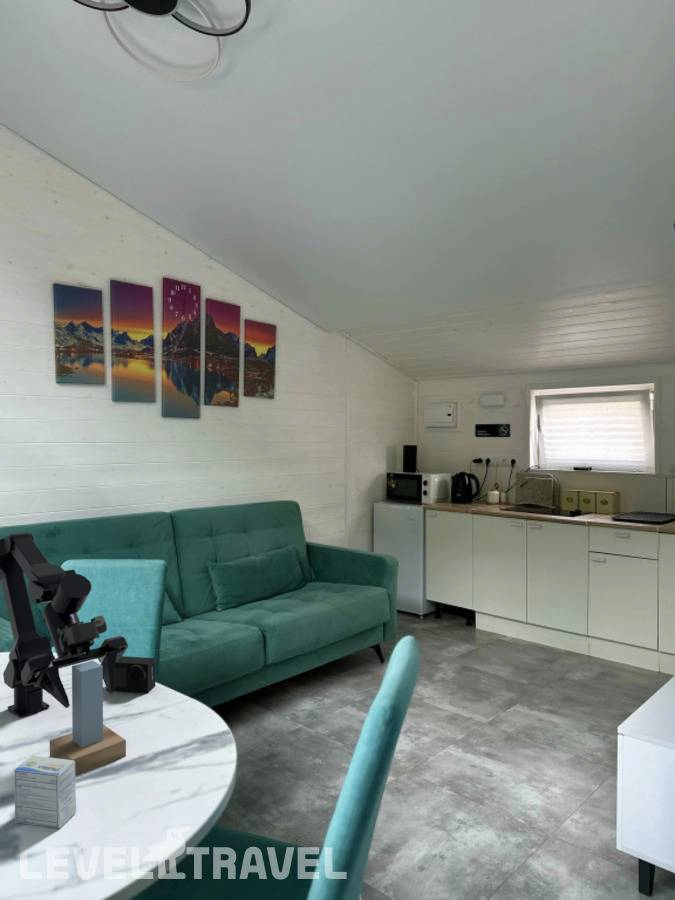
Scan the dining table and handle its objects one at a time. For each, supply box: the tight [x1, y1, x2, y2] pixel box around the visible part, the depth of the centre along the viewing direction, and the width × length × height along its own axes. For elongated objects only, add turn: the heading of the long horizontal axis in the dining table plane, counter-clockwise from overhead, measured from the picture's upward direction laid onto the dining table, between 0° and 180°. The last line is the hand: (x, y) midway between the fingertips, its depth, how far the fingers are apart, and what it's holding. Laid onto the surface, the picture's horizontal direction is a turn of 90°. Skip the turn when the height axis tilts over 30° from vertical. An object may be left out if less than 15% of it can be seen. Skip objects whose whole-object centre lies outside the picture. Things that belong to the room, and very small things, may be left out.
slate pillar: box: [71, 660, 104, 748], centre depth 118 cm, size 4×4×14 cm
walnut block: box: [49, 724, 127, 777], centre depth 119 cm, size 10×10×3 cm
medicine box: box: [13, 755, 77, 829], centre depth 99 cm, size 8×4×9 cm, turn 79°
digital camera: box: [106, 655, 156, 694], centre depth 149 cm, size 10×5×7 cm, turn 82°
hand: (90, 699), depth 117 cm, fingers open, 8 cm apart
